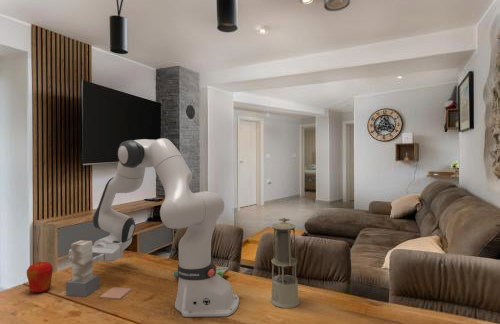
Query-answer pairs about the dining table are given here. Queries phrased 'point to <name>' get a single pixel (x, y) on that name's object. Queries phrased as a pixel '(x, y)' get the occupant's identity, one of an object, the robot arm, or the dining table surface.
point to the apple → (39, 276)
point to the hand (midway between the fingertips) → (81, 259)
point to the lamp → (283, 284)
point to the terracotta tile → (116, 293)
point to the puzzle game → (219, 271)
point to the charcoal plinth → (82, 287)
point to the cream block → (82, 260)
